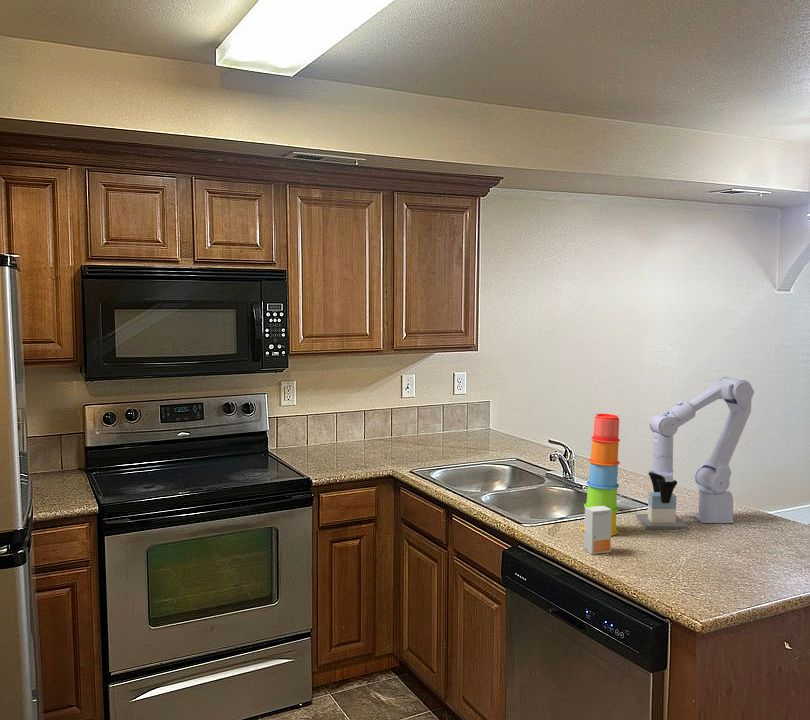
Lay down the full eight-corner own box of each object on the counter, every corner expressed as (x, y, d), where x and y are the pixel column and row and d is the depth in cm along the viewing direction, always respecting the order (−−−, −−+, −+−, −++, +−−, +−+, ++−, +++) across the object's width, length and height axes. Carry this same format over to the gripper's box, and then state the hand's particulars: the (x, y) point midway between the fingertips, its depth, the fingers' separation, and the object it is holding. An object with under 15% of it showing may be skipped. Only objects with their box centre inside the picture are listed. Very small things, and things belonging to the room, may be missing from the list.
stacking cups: (593, 523, 232) (594, 410, 229) (624, 531, 225) (626, 414, 222) (575, 531, 224) (576, 415, 221) (606, 539, 217) (608, 419, 214)
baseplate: (675, 517, 237) (675, 514, 237) (687, 529, 225) (688, 526, 225) (636, 517, 238) (636, 514, 238) (646, 529, 226) (646, 526, 226)
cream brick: (671, 518, 233) (671, 505, 233) (675, 522, 229) (675, 509, 229) (647, 517, 234) (647, 505, 233) (651, 522, 229) (651, 509, 229)
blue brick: (671, 505, 233) (671, 492, 233) (676, 509, 229) (676, 496, 228) (648, 505, 234) (648, 492, 233) (652, 509, 229) (652, 496, 229)
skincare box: (591, 555, 205) (592, 511, 204) (583, 550, 209) (584, 507, 208) (611, 552, 207) (612, 509, 206) (603, 547, 211) (603, 505, 210)
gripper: (643, 450, 237) (642, 492, 238) (655, 460, 223) (655, 506, 224) (666, 449, 237) (665, 492, 238) (680, 460, 222) (679, 506, 223)
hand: (662, 499), depth 231 cm, fingers open, 7 cm apart
